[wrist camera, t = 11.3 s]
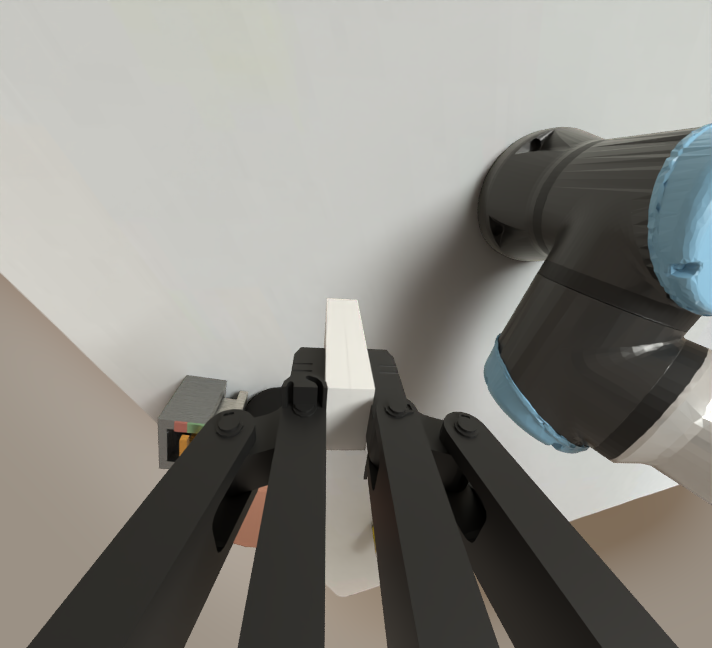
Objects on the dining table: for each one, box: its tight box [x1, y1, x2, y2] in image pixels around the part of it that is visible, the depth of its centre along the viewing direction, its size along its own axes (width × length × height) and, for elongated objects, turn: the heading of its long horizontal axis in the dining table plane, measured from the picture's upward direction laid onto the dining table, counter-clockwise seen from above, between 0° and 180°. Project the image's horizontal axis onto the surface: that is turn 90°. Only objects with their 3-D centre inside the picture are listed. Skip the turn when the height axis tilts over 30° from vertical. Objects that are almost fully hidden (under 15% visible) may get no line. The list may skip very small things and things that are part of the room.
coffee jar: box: [233, 387, 282, 547], centre depth 42 cm, size 11×11×18 cm
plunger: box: [179, 391, 248, 456], centre depth 42 cm, size 6×9×11 cm, turn 166°
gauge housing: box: [158, 375, 227, 469], centre depth 43 cm, size 6×9×9 cm, turn 166°
